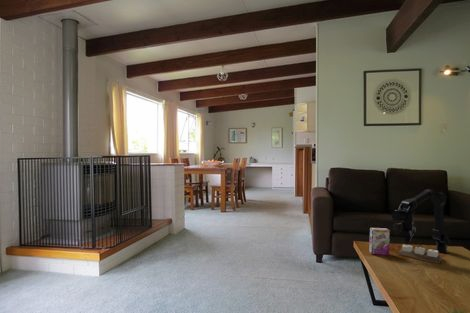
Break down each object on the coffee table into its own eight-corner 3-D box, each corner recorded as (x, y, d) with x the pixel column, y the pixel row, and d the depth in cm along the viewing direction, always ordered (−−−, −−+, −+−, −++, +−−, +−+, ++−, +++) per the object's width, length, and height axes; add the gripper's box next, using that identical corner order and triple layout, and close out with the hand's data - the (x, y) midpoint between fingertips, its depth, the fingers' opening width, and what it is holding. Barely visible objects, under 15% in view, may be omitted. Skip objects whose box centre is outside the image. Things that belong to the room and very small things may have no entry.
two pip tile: (415, 251, 195) (416, 246, 195) (425, 253, 192) (425, 248, 192) (414, 253, 191) (414, 248, 191) (423, 254, 188) (423, 249, 188)
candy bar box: (371, 254, 195) (372, 229, 195) (369, 252, 200) (369, 227, 200) (389, 255, 194) (390, 230, 193) (386, 252, 199) (387, 228, 198)
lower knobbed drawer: (428, 253, 190) (428, 248, 190) (438, 255, 187) (438, 250, 187) (427, 255, 186) (427, 250, 186) (437, 257, 183) (437, 252, 183)
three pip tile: (403, 248, 199) (403, 244, 199) (412, 250, 196) (412, 245, 196) (402, 250, 196) (402, 245, 196) (410, 252, 192) (410, 247, 192)
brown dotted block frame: (402, 251, 202) (402, 247, 202) (441, 259, 188) (441, 255, 188) (398, 255, 195) (398, 251, 195) (439, 263, 180) (439, 259, 180)
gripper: (397, 216, 208) (397, 238, 208) (390, 220, 194) (390, 244, 194) (416, 218, 201) (415, 241, 201) (410, 223, 187) (409, 248, 187)
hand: (407, 244), depth 196 cm, fingers closed
